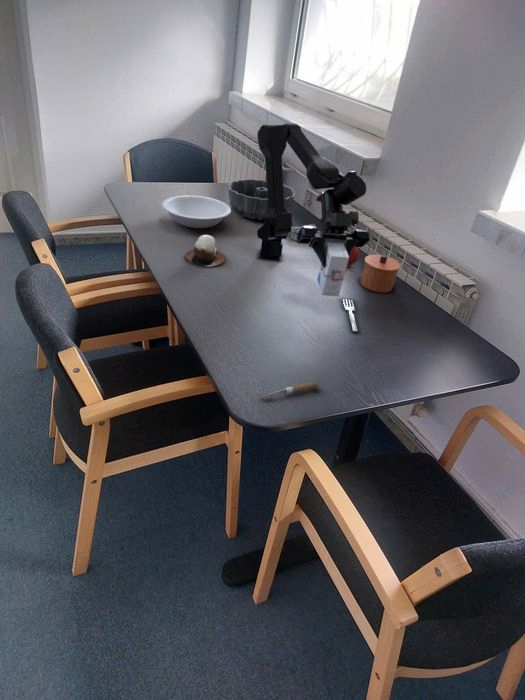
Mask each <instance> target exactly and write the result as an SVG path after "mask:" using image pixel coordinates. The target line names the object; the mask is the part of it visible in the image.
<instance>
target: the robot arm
mask: <svg viewBox="0 0 525 700" xmlns="http://www.w3.org/2000/svg"><path fill="white" fill-rule="evenodd" d="M257 142H258V143H257V144H258V148H259V150H260V152H261V154H262V155H263V157H264V160H265V161H264V162H265V175H266V176H265V177H266V181H267V193H268V210H267V212H266V214H265V216H264V219H263V225H261V226H260V228H258V229H257V230H256V234H257V238H258V239H260V240H261V245H260V250H259V259H263V260H269V261H270V260H271V261H280V258H281V257H282V254H283V247H284V242H283V240H287V239H288V237H289V235H288V234H289V232H290V231H291V228H292V227H293V225H294V224H293V219H292V218H293V214H292V212H291V211H289V212H287V210H286V208H285V206H284V189H283V185H284V174H283V173H284V172H283V155H284V153H285V150H286V148H287V144H288V146H289V147H290V148H291V149H292V151H293V152H294V154H295V155H296V156H297V158H298V159H299V160H300V162H301V163H302V165H303V166H304V168H305V170H306V173H305V175H306V178H307V180H308V182H309V184H310V186H311V187H312V188H313V189H314V190H325V189H326V190H325V191H321V192H320V193H319V195H318V196H316V199H315V201H316V202H319V203H321V204H320V206H321V218H320V224H321V230H318V227H317V226H315V227H314V226H307V225H302V226H303V227H302V226H301V227H302V228H301V229H300V231H299V232H298V234H297V241H296V243H297V244H299V245H308V247H309V248H312V249H313V252H314V253H315V255H316V256H317V258H318V260H319V262H320V265H321V264H322V266H323V267H324V268H325V267H326V254H325V245H326V241H339V242H343V244H344V245H345V248H346V250H347V253H348V256H349V255H350V252H351V250H352V249H353V248H354V247H356V248H363V247H364V246H365V245H367V244H368V243H369V242H370V241H371V233H370V232H369V230H368V229H354V230H353V231H352V232H351V233H345V232H347V231H348V229H349V228H352V225H358V223H359V211H356V210H351V211H348V213H346V212H345V211H344V206H348V205H351V204H352V203H354V202H355V201H356V200H359V199H360V198H362V197H363V196H365V195H366V192H367V185H366V182H365V181H364V179H363V178H362V177H361V176H359V175H358V174H357V171H356V170H351V171H348V172H347V173H346V174H345V175H343V174H342V173H341V172H340V170H339V168H338V167H337V166H336V165H334V164H333V162H331V161H330V160H328V159H326V158H324V157H322V156H321V154H320V153H319V152H318V151H317V149H316V148H315V147H314V145H313V144H312V143H311V141H310V140H309V139H308V137H307V136H306V134H305V133H304V132H303V130H302V128H301V126H300V125H299V124H298V123H283V124H263V125H261V126H260V127H259V129H258V130H257Z"/></svg>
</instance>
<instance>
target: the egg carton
mask: <svg viewBox="0 0 525 700" xmlns="http://www.w3.org/2000/svg"><path fill="white" fill-rule="evenodd" d="M303 226H304V225H302V226H294V227H291V231H290V232H289V234H288V237H290V238H291V240H293V241H295V242H297V234H298V232H299V231H300V229H301V228H302V227H303ZM306 226H314V227H316V224H315V223H311V224H306Z"/></svg>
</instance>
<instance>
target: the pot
mask: <svg viewBox="0 0 525 700" xmlns="http://www.w3.org/2000/svg"><path fill="white" fill-rule="evenodd" d="M398 272H399V270H396V271H383V270H379V269H375V268H373V267H371V266H369V265H368V264H367V263H366V262H365V261H364V265H363V268H362V272H361V276H360V281H359V282H360V284H361V286H362V287H364V288H366V289H367V290H370V291H372V292H377V293H388V292H391V291H392V290H393V288H394V286H395V282H396V279H397V276H398Z"/></svg>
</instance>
